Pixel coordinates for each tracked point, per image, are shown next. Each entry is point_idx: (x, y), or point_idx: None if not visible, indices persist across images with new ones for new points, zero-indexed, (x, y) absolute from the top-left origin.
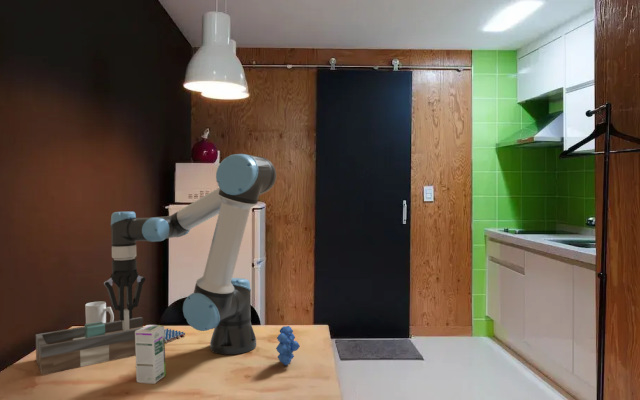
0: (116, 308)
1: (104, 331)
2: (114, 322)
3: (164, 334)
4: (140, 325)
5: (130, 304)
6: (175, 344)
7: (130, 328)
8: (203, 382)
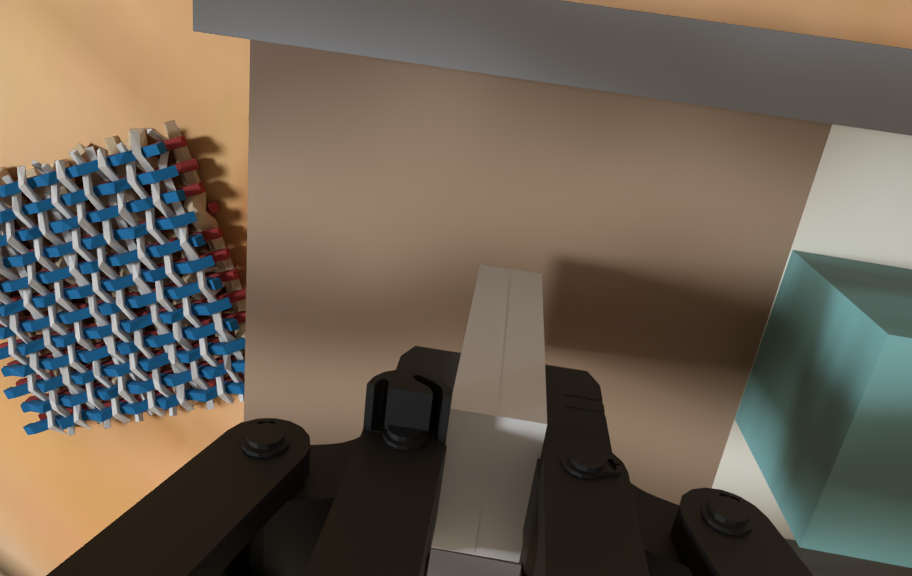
0: (730, 505)
1: (852, 293)
2: None
3: (98, 306)
4: None
5: (388, 488)
6: (82, 23)
7: None
8: None
